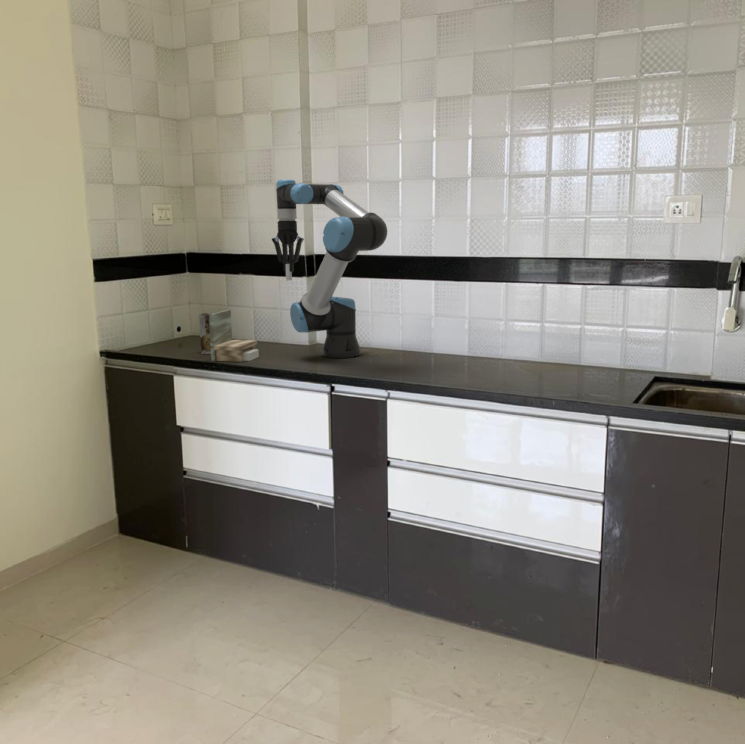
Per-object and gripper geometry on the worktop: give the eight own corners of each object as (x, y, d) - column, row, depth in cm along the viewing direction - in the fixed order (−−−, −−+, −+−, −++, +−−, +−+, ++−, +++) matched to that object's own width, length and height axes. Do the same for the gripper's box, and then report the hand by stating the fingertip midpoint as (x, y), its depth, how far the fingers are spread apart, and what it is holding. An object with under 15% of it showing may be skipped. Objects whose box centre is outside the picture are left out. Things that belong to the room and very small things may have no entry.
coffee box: (227, 351, 306) (225, 312, 302) (222, 354, 299) (220, 314, 296) (205, 351, 306) (203, 312, 303) (200, 354, 300) (198, 314, 297)
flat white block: (258, 356, 292) (258, 349, 292) (249, 360, 284) (249, 353, 283) (233, 355, 295) (232, 348, 294) (223, 359, 286) (223, 352, 286)
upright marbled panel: (257, 355, 296) (255, 310, 293) (241, 362, 281) (238, 315, 277) (229, 354, 299) (227, 309, 296) (211, 361, 284) (208, 314, 280)
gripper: (305, 220, 294) (307, 279, 298) (275, 220, 297) (277, 279, 301) (299, 219, 286) (301, 281, 291) (268, 220, 290) (270, 280, 294)
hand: (289, 280), depth 296 cm, fingers closed
